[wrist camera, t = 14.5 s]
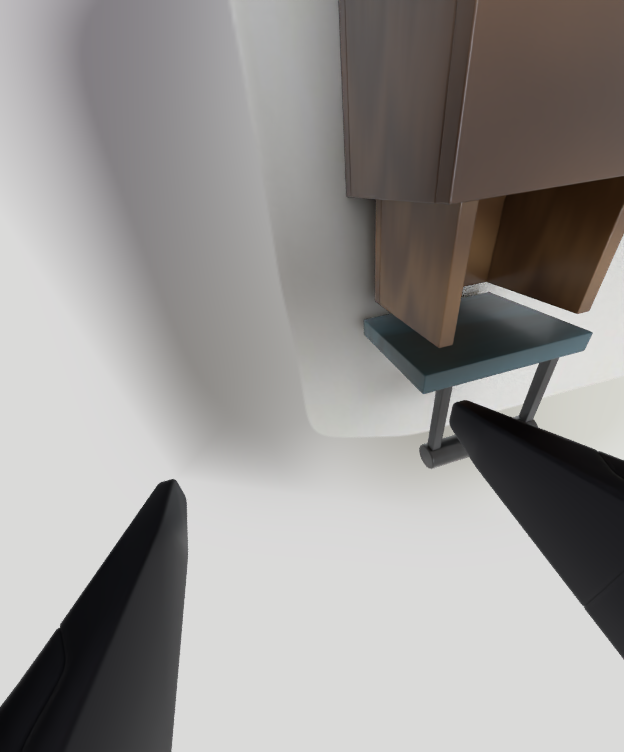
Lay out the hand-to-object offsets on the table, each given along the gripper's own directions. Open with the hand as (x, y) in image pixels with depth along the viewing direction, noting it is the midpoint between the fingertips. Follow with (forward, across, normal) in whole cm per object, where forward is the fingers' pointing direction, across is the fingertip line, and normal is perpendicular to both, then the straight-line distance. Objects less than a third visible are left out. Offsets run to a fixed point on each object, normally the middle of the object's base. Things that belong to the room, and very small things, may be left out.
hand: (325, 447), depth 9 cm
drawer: (+12, -12, 0) cm, 17 cm away
